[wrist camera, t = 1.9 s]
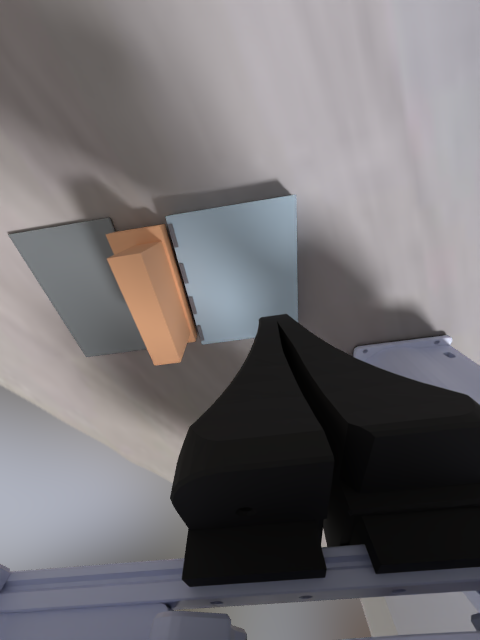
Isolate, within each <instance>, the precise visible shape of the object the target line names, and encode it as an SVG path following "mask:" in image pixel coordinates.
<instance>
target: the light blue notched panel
mask: <svg viewBox="0 0 480 640" xmlns="http://www.w3.org/2000/svg"><path fill="white" fill-rule="evenodd" d="M165 217H166V221H167V224H168V228H169V231H170V235H171V238H172V242H173V245H174V249H175V252H176V256H177V259H178V263H179V266H180V270H181V273H182V277H183V280H184V284H185V287H186V291H187V294H188V297H189V301H190V304H191V308H192V311H193V315H194V318H195V322H196V325H197V329H198V332H199V336H200V339H201V343H202V345H203V344H211V343H218V342H226V341H234V340H241V339H249V338H255V337H256V334H257V330H258V326H259V319H260V318H261V317H266V316H274V315H281V314H288V315H289V316H290V317H291V318H293V319H294V320H295V321H296V322H298V281H297V213H296V195H288V196H282V197H276V198H270V199H264V200H258V201H252V202H246V203H240V204H234V205H228V206H222V207H216V208H210V209H204V210H198V211H192V212H186V213H180V214H174V215H169V216H165Z"/></svg>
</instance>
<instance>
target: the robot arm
mask: <svg viewBox="0 0 480 640" xmlns="http://www.w3.org/2000/svg"><path fill="white" fill-rule="evenodd" d="M451 342H452V338H451V337H450V336H448V335H444V336H436V337H428V338H420V339H412V340H404V341H396V342H388V343H380V344H372V345H364V346H358V347H356V348H355V349H354V354H353V356H350V355H348V354H347V353H345V352H343V351H341V350H339V349H337V348H335V347H333V346H331V345H330V344H328V343H326V342H325V341H323V340H322V339H320V338H318V337H317V336H315V335H314V334H312V333H311V332H310V331H308V330H307V329H305V328H304V327H303V326H302V325H300V324H299V323H298V322H296V321H295V320H294V319H293V318H291V317H290V316H289V315H288V314H281V315H274V316H266V317H261V318H260V319H259V326H258V330H257V334H256V337H255V340H254V343H253V345H252V348H251V350H250V352H249V354H248V356H247V358H246V360H245V362H244V364H243V366H242V367H241V369H240V370H239V372H238V373H237V375H236V376H235V378H234V379H233V381H232V382H231V384H230V385H229V386H228V387H227V389H226V390H225V391H224V392H223V393H222V394H221V396H220V397H219V398H218V399H217V400H216V402H215V403H214V404H213V405H212V406H211V407H210V408H209V409H208V410H207V411H206V412H205V413H204V414H203V415H202V416H201V417H200V418H199V419H198V420H197V421H196V422H195V423H194V424H192V425H191V426H190V427H189V430H188V432H187V435H186V438H185V440H184V443H183V446H182V449H181V452H180V455H179V458H178V462H177V466H176V471H175V476H174V481H173V486H172V491H171V496H170V499H171V501H172V504H173V506H174V507H175V509H176V511H177V512H178V514H179V515H180V517H181V518H182V520H183V521H184V522H185V523H186V525H187V527H188V528H189V529H188V536H187V544H186V551H185V558H180V559H167V560H154V561H141V562H128V563H115V564H102V565H89V566H76V567H64V568H50V569H37V570H26V571H25V570H24V571H12V572H10V569H9V568H7V567H5V566H3V565H1V564H0V640H247V634H246V632H245V630H244V629H242V628H239V627H236V626H233V625H231V619H230V618H229V616H228V615H227V614H221V613H220V614H219V613H204V612H190V611H174V610H178V609H179V610H180V609H194V608H210V607H226V606H241V605H258V604H273V603H288V602H304V601H319V600H320V601H321V600H336V599H352V598H368V597H383V596H399V595H415V594H430V593H446V592H463V593H464V594H465V596H466V597H467V598H468V599H469V601H470V602H471V603H472V605H473V606H474V607H475V608H476V610H477V611H478V612H479V613H476V614H473V615H471V622H472V624H473V626H474V627H475V629H476V631H467V632H447V633H428V634H410V635H394V636H380V637H368V638H367V637H366V638H353V639H341V640H480V366H479V365H478V364H476V363H475V362H474V361H472V360H471V359H469V358H468V357H466V356H465V355H463V354H462V353H460V352H459V351H458V350H456V349H455V348H453V347H452V346H450V344H451ZM365 349H366V350H365ZM364 350H365V351H364ZM323 528H324V533H325V538H326V542H327V547H323V548H321V540H322V531H323Z"/></svg>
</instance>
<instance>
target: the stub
mask: <svg viewBox="0 0 480 640" xmlns="http://www.w3.org/2000/svg"><path fill="white" fill-rule="evenodd" d="M106 237H107V239H108V242H109V244H110V246H111V249H112V251H113V253H114V255H113V256H111V257H109V258H107V261H108V263H109V265H110V267H111V270H112V272H113V274H114V276H115V279H116V281H117V283H118V285H119V287H120V290H121V292H122V294H123V296H124V299H125V301H126V303H127V305H128V308H129V310H130V312H131V314H132V316H133V319H134V321H135V323H136V325H137V328H138V330H139V332H140V334H141V337H142V339H143V341H144V343H145V345H146V348H147V350H148V352H149V354H150V357H151V359H152V361H153V363H154V366H156V365H163V364H171V363H179V362H181V360H182V357H183V354H184V351H185V348H186V345H187V343H189V342H195V341H196V338H197V331H196V328H195V325H194V321H193V318H192V314H191V311H190V308H189V304H188V301H187V297H186V294H185V290H184V287H183V284H182V280H181V277H180V273H179V270H178V266H177V263H176V260H175V256H174V253H173V249H172V246H171V242H170V239H169V236H168V232H167V229H166V225H165V224H161V225H154V226H148V227H142V228H136V229H130V230H124V231H118V232H113V233H109V234H106Z"/></svg>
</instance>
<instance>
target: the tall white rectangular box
mask: <svg viewBox="0 0 480 640" xmlns="http://www.w3.org/2000/svg"><path fill="white" fill-rule="evenodd" d="M360 600H361V604H362V607H363V610H364V613H365V616H366V620H367V623H368V626H369V629H370V633H371V636H372V637H380V636H394V635H410V634H428V633H447V632H467V631H476V629H475V627H474V626H473V624H472V622H471V615H473V614H476V613H479V612H478V611H477V610H476V608H475V607H474V606H473V605H472V603H471V602H470V601H469V599H468V598H467V597H466V596H465V594H464V593H463V592H446V593H430V594H415V595H399V596H383V597H368V598H360Z"/></svg>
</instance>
